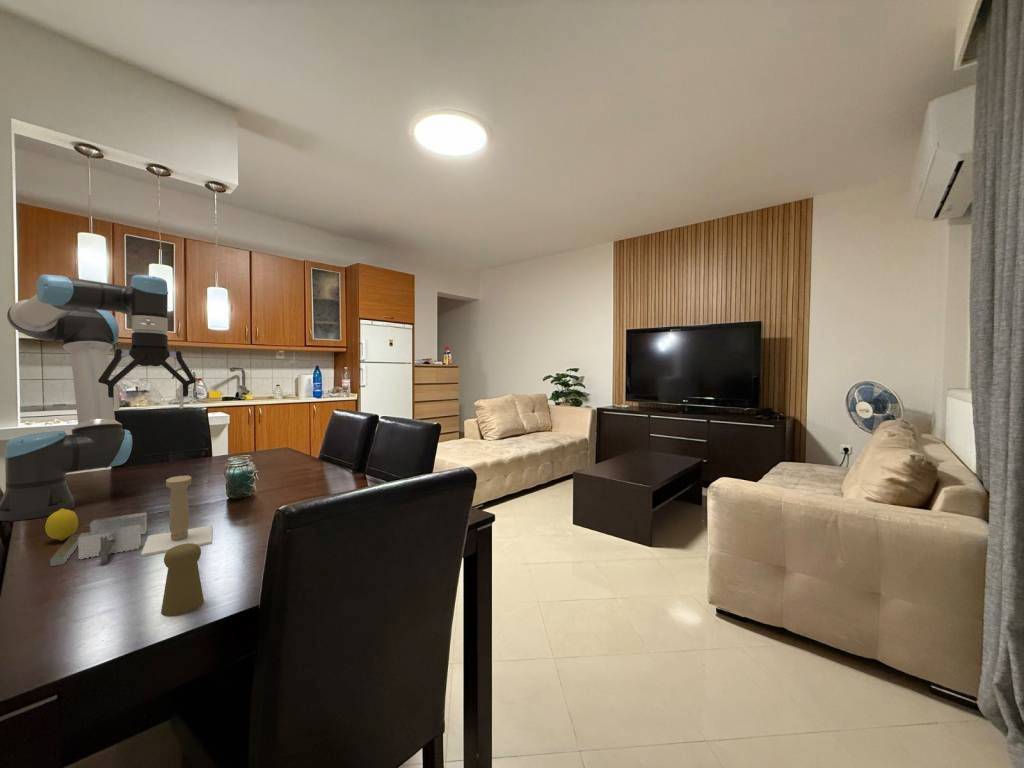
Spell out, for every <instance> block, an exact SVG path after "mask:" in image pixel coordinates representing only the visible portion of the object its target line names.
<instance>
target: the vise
mask: <svg viewBox="0 0 1024 768" xmlns="http://www.w3.org/2000/svg"><path fill="white" fill-rule="evenodd" d="M147 519H148V518H147V512H140V513H131V514H124V515H123V514H122V515H117V516H109V517H104V518H96V519H92V520H91V522H90V523H89V531H87V532H81V533H76V534H72V535H71V536H69V537H68V538H67V540H66V541H65V542H64V543H63V544H62V545H61V546H60V548H59V549H58V550H57V551H55V553H54V554H53V556H52V557H51V558H50V561H49V562H50V567H54V566H55V567H56V566H62V565H65V564H66V562H67V561H68V560H69V558H70V557H71V556H72V555H73V553H74V552H75V551H76V549H77V548H78V560H79V559H80V560H84V558H86V559H90V558H89V557H91V558H96V557H95V556H97V557H100V566H105V565H104V564H106V565H108V555H112V554H111V553H114V554H117V553H116V552H120V553H123V551H125V552H130V551H129V550H131V551H135V550H134V549H137V550H139V549H140V548H141V543H142V542H141V541H142V540H141V539H142V538H141V536H142V535H141V534H145V533H146V534H147V531H146V530H148V529H147V522H148V521H147ZM146 534H145V535H146ZM77 546H78V547H77ZM139 547H140V548H139ZM74 550H75V551H74ZM71 554H72V555H71ZM70 555H71V556H70ZM67 559H68V560H67Z"/></svg>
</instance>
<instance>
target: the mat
mask: <svg viewBox="0 0 1024 768" xmlns="http://www.w3.org/2000/svg"><path fill="white" fill-rule="evenodd" d="M187 532H188V536H187V537H186V538H184V539H182V540H176V541H175V540H172V539H171V532H170V531H168V532H164V533H156V534H151V535H148V536H147V538H146V541H145V543H144V545H143V548H142V551H141V553H140V557H148V556H153V555H158V554H163V553H165V554H166V552H167V551H168V550H169V549H171V548H172V547H175V546H178V545H181V544H188V543H193V544H197V545H198V546H199V547H203V546H208V545H212V544H213V541H212V540H213V524H212V525H207V526H206V525H204V526H201V527H194V528H188V530H187ZM207 544H208V545H207Z"/></svg>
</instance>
